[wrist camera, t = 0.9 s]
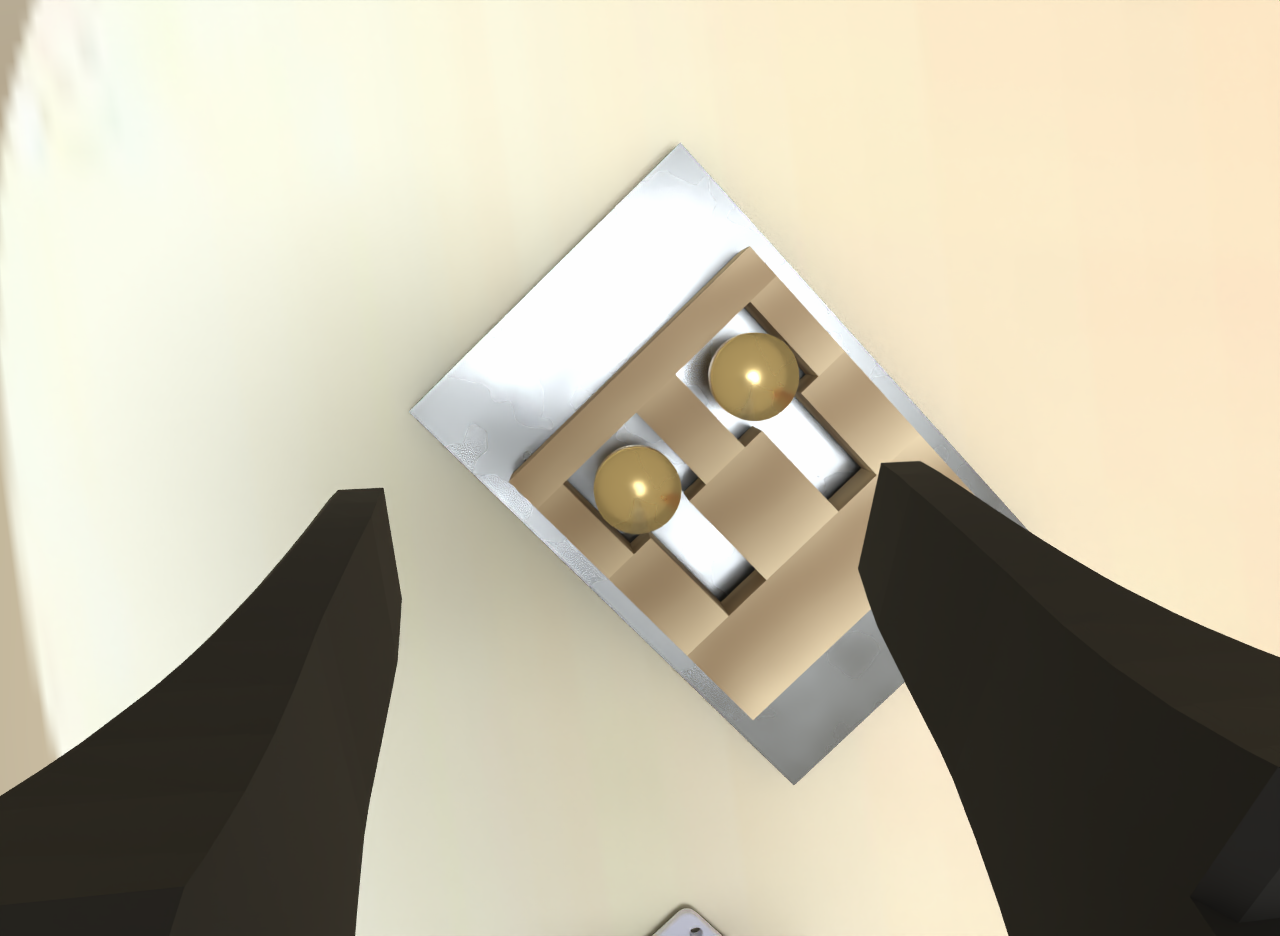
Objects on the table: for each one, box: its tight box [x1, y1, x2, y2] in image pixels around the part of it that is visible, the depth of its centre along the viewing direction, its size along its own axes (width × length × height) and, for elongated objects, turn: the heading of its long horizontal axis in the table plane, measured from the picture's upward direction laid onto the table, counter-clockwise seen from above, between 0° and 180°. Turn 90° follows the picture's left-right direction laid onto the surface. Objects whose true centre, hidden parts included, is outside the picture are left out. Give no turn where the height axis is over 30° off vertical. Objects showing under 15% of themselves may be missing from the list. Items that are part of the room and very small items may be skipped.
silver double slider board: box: [409, 143, 1027, 785], centre depth 30 cm, size 20×13×4 cm, turn 44°
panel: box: [509, 246, 974, 720], centre depth 30 cm, size 12×11×2 cm
